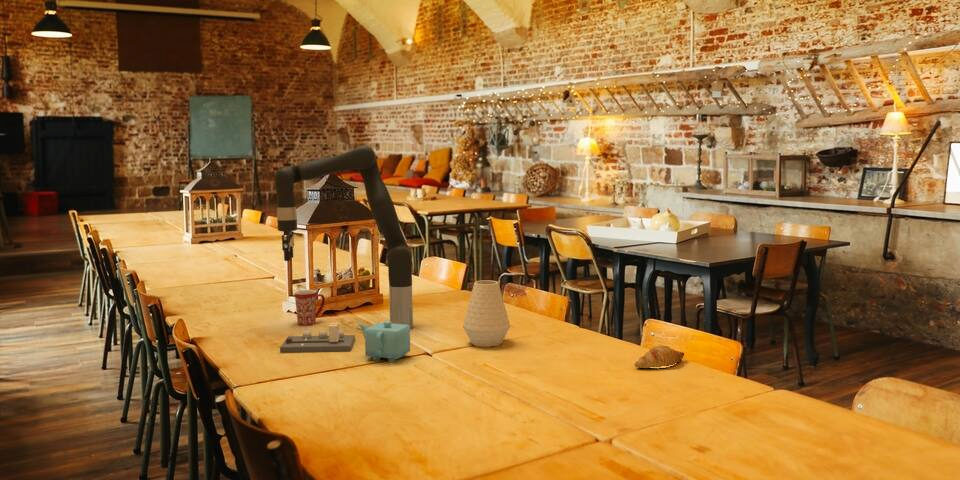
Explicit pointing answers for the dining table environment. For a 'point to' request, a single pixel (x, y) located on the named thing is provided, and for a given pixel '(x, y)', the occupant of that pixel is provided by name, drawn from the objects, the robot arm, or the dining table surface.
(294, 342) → the console
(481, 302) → the vase
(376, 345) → the teapot
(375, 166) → the robot arm
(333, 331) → the block
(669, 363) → the croissant
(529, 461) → the dining table surface
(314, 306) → the mug
